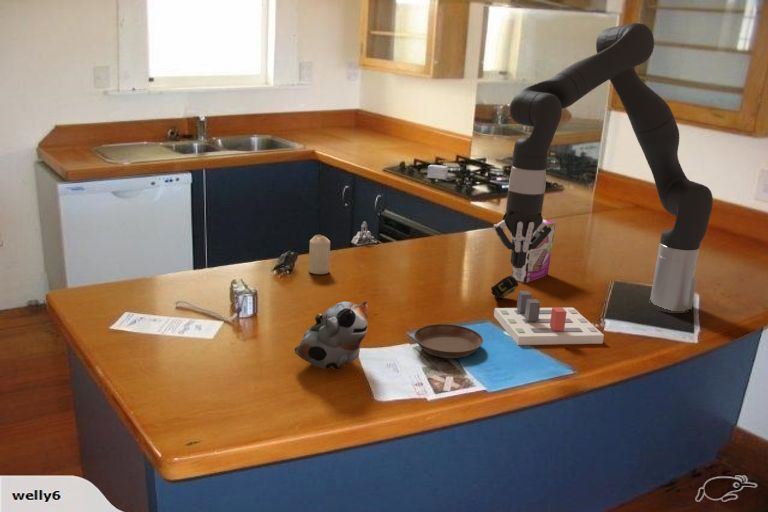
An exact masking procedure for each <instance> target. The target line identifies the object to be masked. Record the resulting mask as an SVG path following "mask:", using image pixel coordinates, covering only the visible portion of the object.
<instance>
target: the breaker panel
mask: <svg viewBox="0 0 768 512" xmlns="http://www.w3.org/2000/svg"><path fill="white" fill-rule="evenodd" d="M517 294H518V295H517V302H516V307H495V308H494V311H493V317H494V318H495V319H496V320H497V321H498V323H499V324H500V325H501V327H502V328H503V330H504V331H506V332H507V334H508V335H509V337H510V338H511V339H513V341H514V343H516V345H518V346H526V345H527V346H529V345H530V346H533V345H534V346H536V345H537V346H539V345H585V344H586V345H589V344H591V345H592V344H594V345H595V344H596V345H597V344H598V345H599V344H604V337H605V335H604V334H603V333H602V332H601V331H600V330H599V329H598V328H596V327H595V325H593V324H592V322H590V321H589V320H588V319H586V318H585V316H583V315H582V314H581V313H580V312H579V311H578V310H577V309H576V308H574V307H562V308H563V309H564V310H565V311H566V312H567V313H566V320H565V327H564V331H554V330H553V329H552V328H551V327H550V321H551V314H552V308H553V307H541V302H540V300H538V299H537V298H536V299H535V298H534V299H533V298H532V296H533V294H532V293H531V292H530V291H529V290H519V291H518V293H517Z"/></svg>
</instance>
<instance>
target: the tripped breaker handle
mask: <svg viewBox="0 0 768 512" xmlns="http://www.w3.org/2000/svg"><path fill="white" fill-rule="evenodd" d="M551 308H552V314H551V321H550V327H551V328H552V329H553V330H554V331H564V327H565V320H566V313H567V312H566V311H565V310H564V309H563V308H564V307H551Z"/></svg>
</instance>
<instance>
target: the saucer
mask: <svg viewBox="0 0 768 512" xmlns="http://www.w3.org/2000/svg"><path fill="white" fill-rule="evenodd" d="M413 337H414V340H415V342H416V343H417V344H418V346H419V347H420V348H421V349H422V350H423V351H425V352H426V353H427V354H429V355H432V356H435V357H439V358H443V359H461V358H465V357H468V356H469V355H471V354H473V353H475V352H476V351H477V350H478V349H480V347H481V346H482V345H483V343H484V338H483V336H482V335H481V334H480V333H479V332H477V331H475V330H474V329H472V328H469V327H466V326H463V325H457V324H449V323H448V324H447V323H446V324H445V323H438V324H437V323H435V324H428V325H426V326H425V325H424V326H422V327H419V328H418V329H416V330H415V332H414V334H413Z"/></svg>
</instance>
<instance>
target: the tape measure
mask: <svg viewBox="0 0 768 512" xmlns="http://www.w3.org/2000/svg"><path fill="white" fill-rule="evenodd" d="M518 287H519V281H517V280H516V279H515V278H514V277H513V276H512V275H508V276H506V277H504V278H502V279H501V280H500V281H498V282H497V283H495V285H493V286H492V287H491V292H490V293H491V294H492V295H493V296H494V297H495V298H496V299H498V300H500V299H502V298H503V299H504V298H505V297H507V296H508V295H510V294H512V293H515V290H516V289H517V288H518Z"/></svg>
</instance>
